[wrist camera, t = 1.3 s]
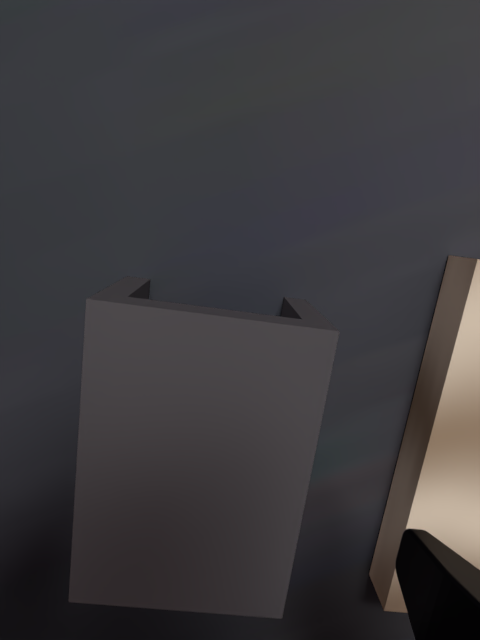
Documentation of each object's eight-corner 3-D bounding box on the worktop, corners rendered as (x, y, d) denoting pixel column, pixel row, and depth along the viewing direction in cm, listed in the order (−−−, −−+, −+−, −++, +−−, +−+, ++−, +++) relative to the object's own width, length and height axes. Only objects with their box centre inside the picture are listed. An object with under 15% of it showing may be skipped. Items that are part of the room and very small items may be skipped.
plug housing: (266, 515, 15) (281, 618, 11) (110, 500, 15) (68, 602, 11) (304, 299, 13) (339, 331, 9) (128, 276, 13) (86, 299, 9)
